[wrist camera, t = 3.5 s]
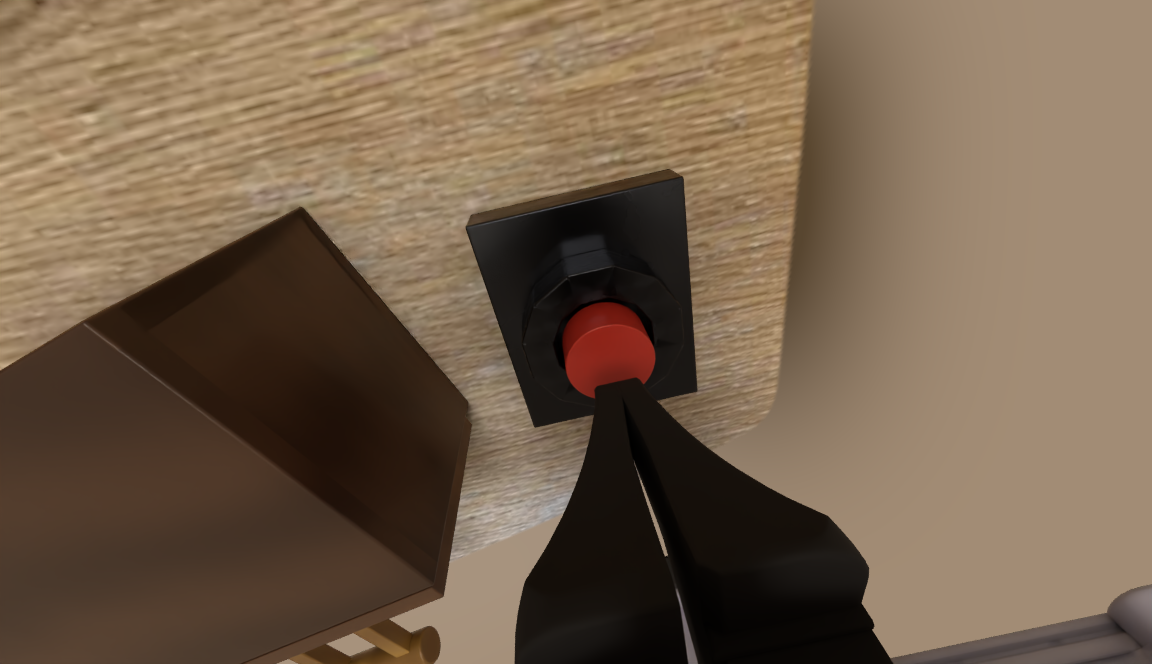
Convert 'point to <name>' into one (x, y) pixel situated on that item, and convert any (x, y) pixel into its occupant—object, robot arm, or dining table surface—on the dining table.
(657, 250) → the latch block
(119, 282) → the dining table surface
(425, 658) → the door
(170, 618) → the compartment
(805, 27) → the dining table surface
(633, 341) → the button
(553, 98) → the dining table surface
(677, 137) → the dining table surface
